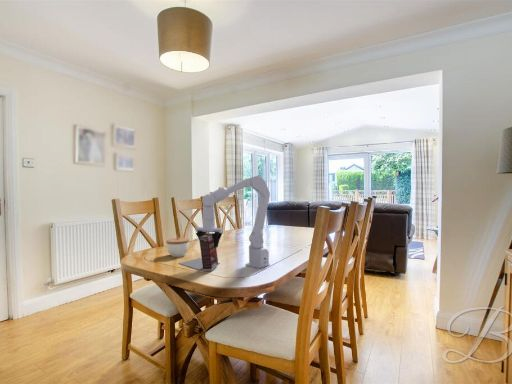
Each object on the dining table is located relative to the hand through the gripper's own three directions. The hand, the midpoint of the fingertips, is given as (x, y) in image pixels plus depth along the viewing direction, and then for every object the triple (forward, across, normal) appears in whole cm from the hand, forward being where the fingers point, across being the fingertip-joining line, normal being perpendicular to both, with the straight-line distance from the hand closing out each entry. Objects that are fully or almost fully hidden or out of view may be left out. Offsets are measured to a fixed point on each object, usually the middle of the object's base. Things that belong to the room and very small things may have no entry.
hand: (209, 246), depth 131 cm
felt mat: (+10, +8, -3) cm, 13 cm away
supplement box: (+10, -2, +2) cm, 10 cm away
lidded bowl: (+10, +30, -13) cm, 34 cm away
